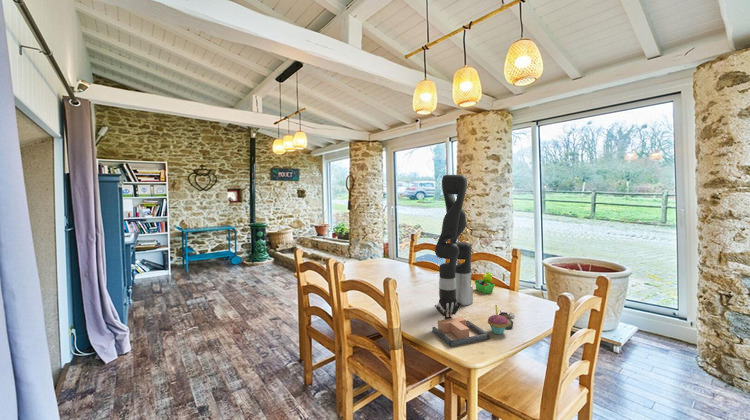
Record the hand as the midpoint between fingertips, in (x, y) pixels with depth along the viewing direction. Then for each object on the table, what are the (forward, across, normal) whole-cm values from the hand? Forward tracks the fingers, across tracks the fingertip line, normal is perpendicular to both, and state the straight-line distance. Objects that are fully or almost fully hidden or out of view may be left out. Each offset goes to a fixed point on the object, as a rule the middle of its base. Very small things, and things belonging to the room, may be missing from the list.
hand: (448, 324), depth 146 cm
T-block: (+1, 0, +7) cm, 7 cm away
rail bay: (+1, 0, +9) cm, 9 cm away
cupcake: (+1, -17, +13) cm, 21 cm away
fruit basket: (+2, -47, -35) cm, 59 cm away
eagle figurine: (+1, -24, +9) cm, 26 cm away
